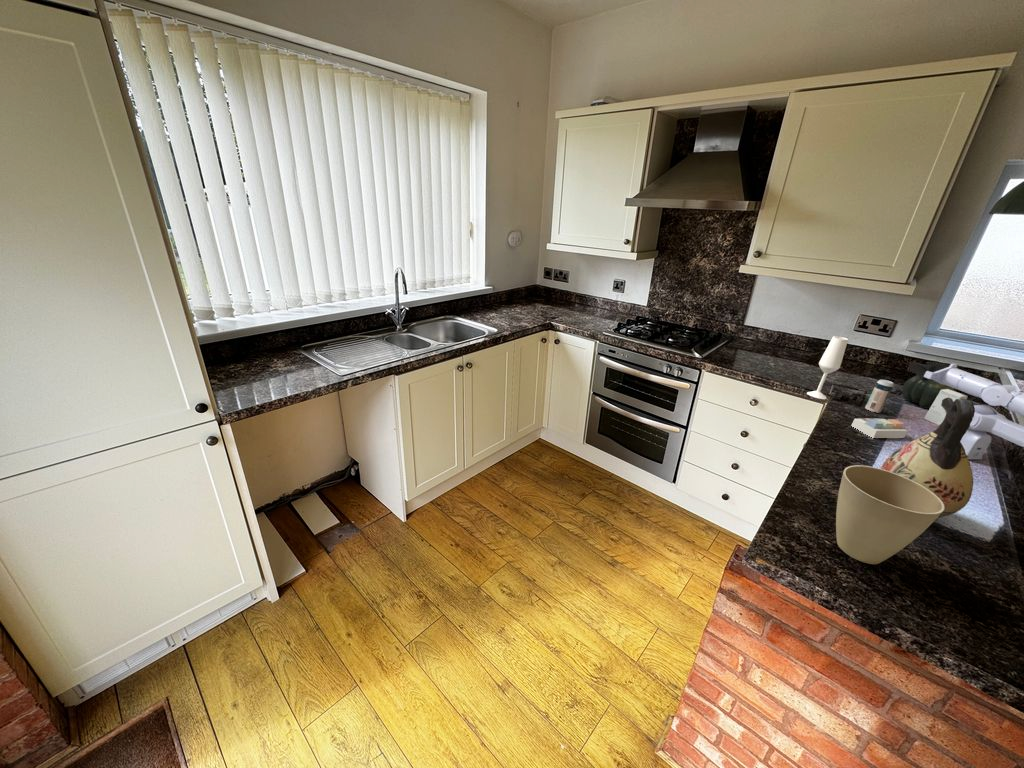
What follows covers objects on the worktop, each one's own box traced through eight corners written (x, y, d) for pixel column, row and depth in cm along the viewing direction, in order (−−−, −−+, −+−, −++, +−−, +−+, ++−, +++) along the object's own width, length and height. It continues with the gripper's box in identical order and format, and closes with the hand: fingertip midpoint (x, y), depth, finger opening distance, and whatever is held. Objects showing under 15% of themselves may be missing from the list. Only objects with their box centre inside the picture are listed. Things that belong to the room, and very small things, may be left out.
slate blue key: (880, 430, 134) (883, 423, 133) (872, 430, 133) (876, 423, 132) (872, 425, 137) (875, 419, 136) (864, 425, 136) (867, 419, 135)
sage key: (890, 430, 135) (894, 423, 134) (883, 430, 134) (886, 423, 133) (882, 425, 137) (885, 419, 136) (874, 425, 137) (877, 419, 136)
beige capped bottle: (883, 414, 152) (898, 384, 147) (868, 412, 153) (883, 382, 148) (875, 409, 156) (889, 380, 152) (861, 406, 157) (875, 378, 152)
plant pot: (861, 525, 92) (893, 466, 86) (925, 581, 78) (968, 515, 72) (798, 523, 91) (826, 462, 85) (851, 578, 78) (888, 512, 71)
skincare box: (923, 418, 151) (939, 389, 147) (930, 418, 153) (947, 388, 148) (943, 427, 146) (960, 396, 141) (951, 426, 147) (968, 395, 143)
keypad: (903, 438, 135) (908, 429, 134) (872, 438, 133) (877, 429, 132) (880, 426, 142) (884, 417, 141) (850, 426, 140) (855, 417, 139)
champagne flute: (806, 390, 169) (828, 334, 159) (825, 395, 166) (850, 338, 156) (807, 395, 163) (830, 337, 154) (827, 400, 160) (852, 341, 151)
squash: (911, 395, 158) (955, 372, 152) (887, 382, 172) (927, 360, 166) (931, 422, 159) (976, 400, 153) (906, 407, 173) (947, 386, 167)
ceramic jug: (866, 481, 109) (920, 377, 97) (945, 509, 101) (1015, 399, 89) (866, 512, 97) (928, 398, 85) (956, 547, 88) (1039, 425, 76)
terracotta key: (901, 430, 135) (904, 423, 134) (893, 430, 135) (896, 423, 134) (892, 425, 138) (895, 419, 137) (884, 425, 137) (887, 419, 137)
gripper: (990, 369, 127) (941, 353, 139) (953, 370, 124) (907, 353, 136) (977, 390, 130) (930, 373, 142) (941, 391, 127) (897, 373, 139)
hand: (918, 364), depth 139 cm, fingers open, 7 cm apart
